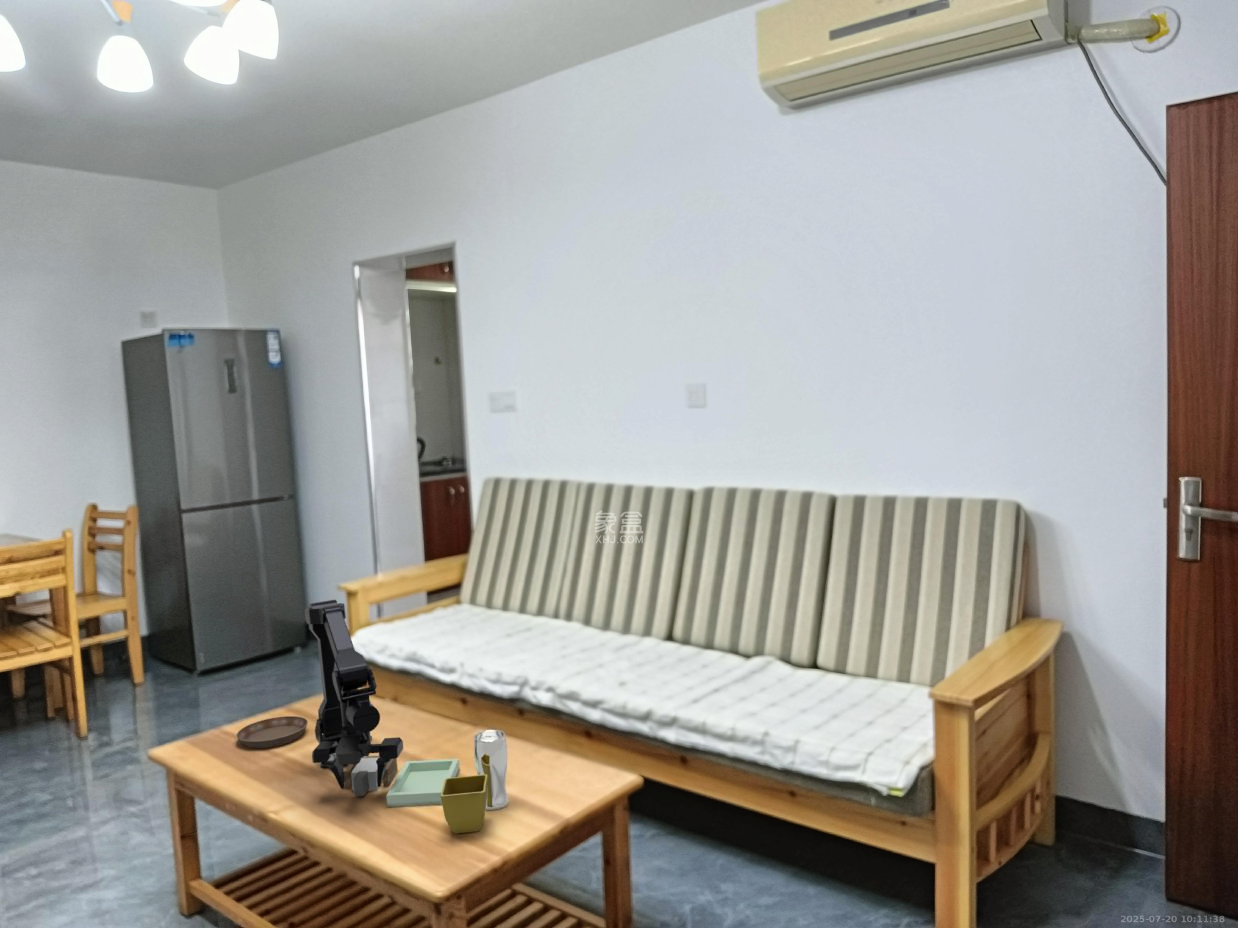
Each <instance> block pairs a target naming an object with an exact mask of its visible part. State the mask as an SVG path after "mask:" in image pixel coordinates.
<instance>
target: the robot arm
mask: <svg viewBox="0 0 1238 928" xmlns="http://www.w3.org/2000/svg"><path fill="white" fill-rule="evenodd" d="M304 617H305V622H306V624H307V625H308V629H309V630H310V632H311V633H312V634H313V635H314V636H315V638H316V639H317V648H318V649H317V650H318V658H319V665H320V667H319V668H320V677H321V685H322V687H321V688H322V694H323V699H322V702H321V703H320V705H319V708H318V710H317V714H318V718H317V719H316V722H315V727H314V733H315V739H316V741H317V743H318V745H317V746H316V747H315V748H314V749H313V751H312V754H311V759H312V763H313V764H319V763H320V768H322V769H324V768H329V769H330V771H331V772H332V773H333V776H334V777H335V779H336V782H337V784H338V785H339V788H340V789H341V790H344V789H345V779H344V771H345V769H344V768H345V767H348V765H349V764H352V765H356V764H358V763H359V762H360V761H361V758H363V757H366V756H369V755H370V754H378V756H379V758H378V759H377V761H376V763H377V782H378V787H379V788H380V787H382V783H383V781H382V780H383V776H384V773H385V769H386V766H387V763H388V762H390V761H391V759H395V758H397V759H398V758H399V757H400V754H401V753H402V751H403V749H404V741H403V740H402V738H401V737H399V736H398V737H397V736H396V737H384V739H383V740H382V741H381V743H372V741H373V736H372V735H371V732H372V731H374V730H375V729H376V728H377V727H378V725H379V723H380V720H381V714H380V712H379V710H378V709H377V708H376V707H375V706H374V705H373V703H371V701H370V700H371V699H370V696H374V695H376V694H377V691H376V689H377V687H378V686H377V682H376V679H375V675H374V673H373V669H372V668H371V666H370V665H369V664H368V663H366V660H365V657H364V655H363V654H361V653H360V652H358V651H357V650H355V647H354V644H353V641H352V637H351V634H350V632H349V629H348V625H347V623H346V620H345V619H346V618H347V615H346V606H345V603H342V602H341V603H340V602H339V603H338V601H337V599H330V600H324V601H319V602H318V601H317V602H311V603H309V605H308V608H305V609H304ZM367 684H368V687H367Z"/></svg>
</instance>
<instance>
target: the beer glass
mask: <svg viewBox="0 0 1238 928" xmlns="http://www.w3.org/2000/svg"><path fill="white" fill-rule="evenodd" d="M507 746H508V745H507V739H506V732H505V731H503V730H501V729H500V730H499V729H488V730H487V729H486V730H482V731H479V732H476V734H474V736H473V757H474V765H475V769H476V775H484V774H487V802H486V808H485V811H487V810H488V811H495V810H500V809H502V808H505V807H506V806H508V804H509V796H508V793H507V785H506V783H507V782H506V781H507V772H508V771H507V770H508V747H507Z"/></svg>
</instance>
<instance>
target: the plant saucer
mask: <svg viewBox="0 0 1238 928" xmlns="http://www.w3.org/2000/svg"><path fill="white" fill-rule="evenodd" d="M308 722H309V721H308V719H307V718H305V717H301V716H296V715H295V716H293V715H291V716H290V715H287V716H286V715H285V716H278V717H277V716H276V717H272V718H266V719H262V720H259V721H258V720H257V721H255V722H253V723H250V724H248V725H245V726H244V727H243V728H241V729H239V730H238V732H236V738H237V739H238V741H239V742H241V744H243V745H245V746H246V747H248V748H252V749H269V748H275V747H280V746H283V745H285V744H288V743H291V742H294V741H295V740H297V739H298V738H300V737H301V735H303V733H304V732H305V730H306V728H307V726H308V724H309V723H308Z"/></svg>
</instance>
